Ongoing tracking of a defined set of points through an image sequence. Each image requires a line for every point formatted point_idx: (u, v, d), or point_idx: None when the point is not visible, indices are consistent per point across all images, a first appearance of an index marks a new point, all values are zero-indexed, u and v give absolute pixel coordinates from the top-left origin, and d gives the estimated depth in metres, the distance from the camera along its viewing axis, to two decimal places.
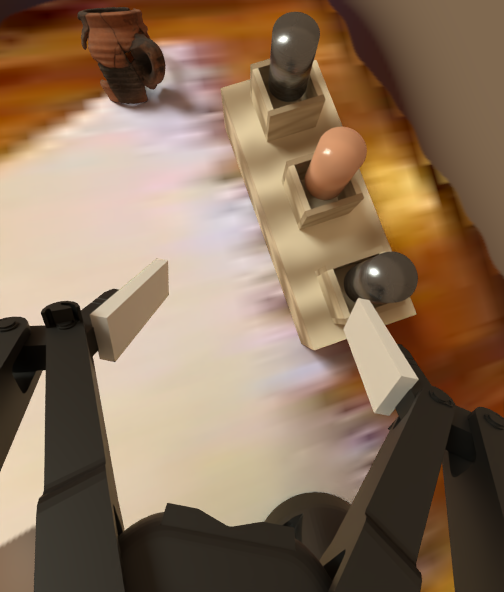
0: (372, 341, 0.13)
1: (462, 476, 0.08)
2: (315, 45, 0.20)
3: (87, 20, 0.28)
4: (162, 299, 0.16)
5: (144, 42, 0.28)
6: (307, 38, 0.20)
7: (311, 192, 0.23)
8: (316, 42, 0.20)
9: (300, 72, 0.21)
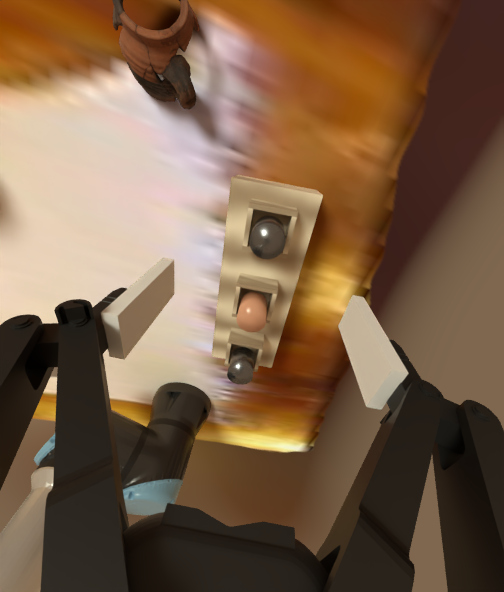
0: (365, 337, 0.13)
1: (452, 469, 0.09)
2: (274, 257, 0.27)
3: (121, 20, 0.24)
4: (168, 298, 0.16)
5: (177, 82, 0.26)
6: (272, 249, 0.27)
7: None
8: (276, 255, 0.27)
9: None
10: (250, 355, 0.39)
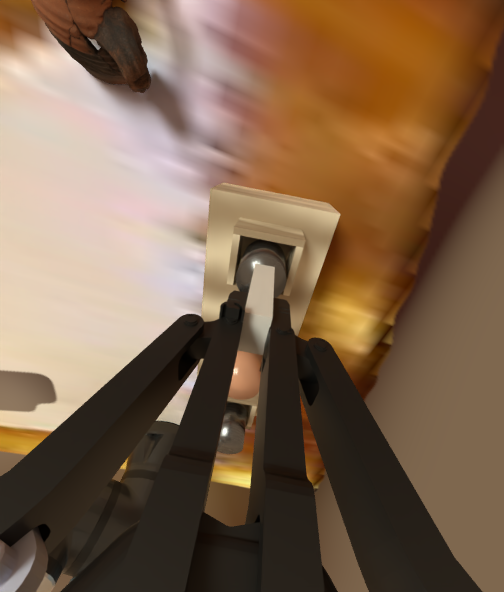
0: None
1: (315, 403, 0.10)
2: None
3: None
4: None
5: (116, 49, 0.17)
6: None
7: None
8: None
9: None
10: (240, 414, 0.31)
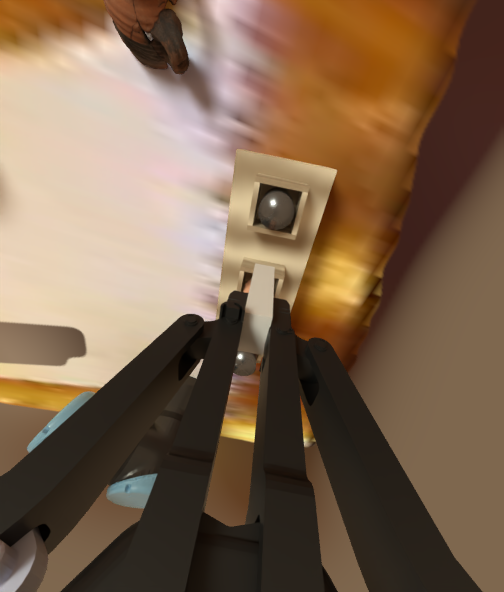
0: None
1: (315, 403, 0.10)
2: (282, 227, 0.27)
3: None
4: None
5: (167, 40, 0.24)
6: (280, 219, 0.27)
7: None
8: (284, 226, 0.27)
9: None
10: None
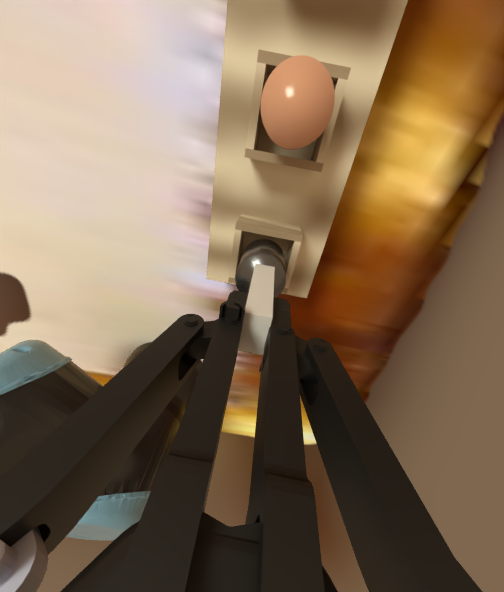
0: None
1: (315, 403, 0.10)
2: None
3: None
4: None
5: None
6: None
7: None
8: None
9: None
10: (278, 249, 0.21)
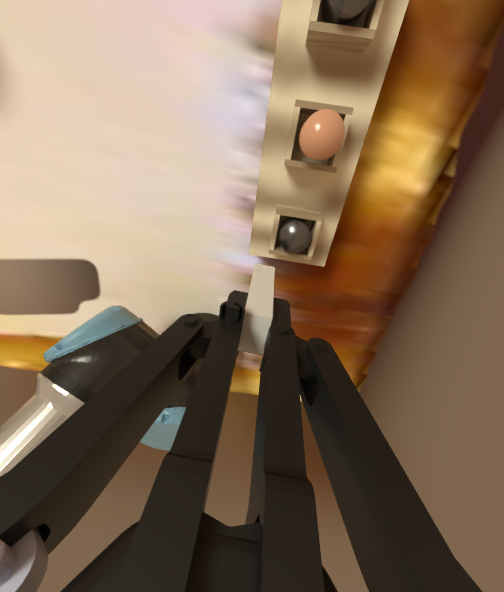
0: None
1: (315, 403, 0.10)
2: (362, 7, 0.20)
3: None
4: None
5: None
6: None
7: None
8: (365, 3, 0.20)
9: (343, 21, 0.22)
10: (304, 220, 0.33)
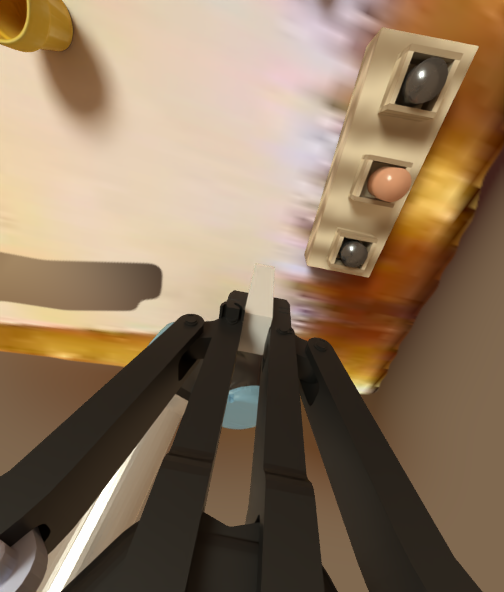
0: None
1: (315, 403, 0.10)
2: (430, 99, 0.28)
3: None
4: None
5: None
6: (430, 89, 0.28)
7: (367, 186, 0.34)
8: (432, 97, 0.28)
9: (413, 104, 0.30)
10: (359, 241, 0.41)
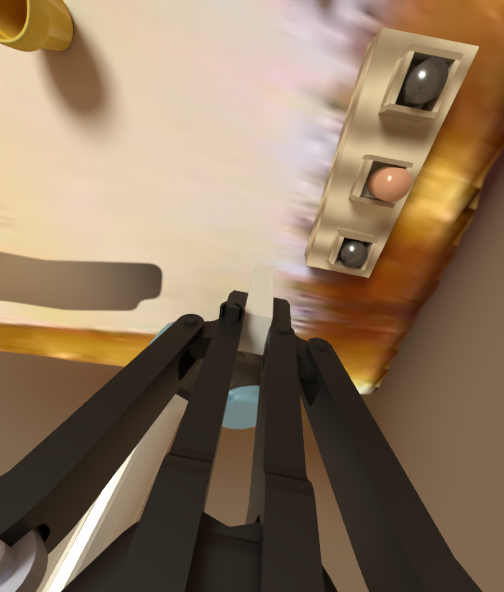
0: None
1: (315, 403, 0.10)
2: (430, 99, 0.28)
3: None
4: None
5: None
6: (431, 90, 0.28)
7: (368, 186, 0.34)
8: (433, 97, 0.28)
9: (413, 104, 0.30)
10: (359, 241, 0.41)
